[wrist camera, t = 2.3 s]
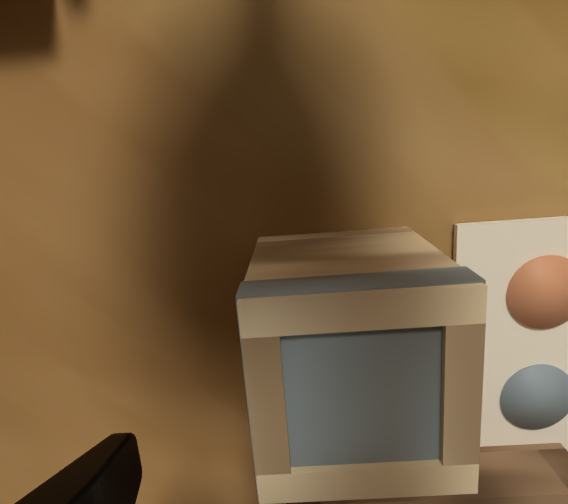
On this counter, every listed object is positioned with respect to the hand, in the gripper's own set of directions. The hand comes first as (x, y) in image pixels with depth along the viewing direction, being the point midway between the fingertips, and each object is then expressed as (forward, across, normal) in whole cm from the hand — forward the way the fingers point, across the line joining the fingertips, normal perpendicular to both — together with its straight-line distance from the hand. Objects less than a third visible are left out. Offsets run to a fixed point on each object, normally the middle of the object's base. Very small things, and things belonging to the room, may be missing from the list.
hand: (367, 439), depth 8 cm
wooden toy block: (+7, 0, 0) cm, 7 cm away
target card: (+7, -7, +2) cm, 10 cm away
